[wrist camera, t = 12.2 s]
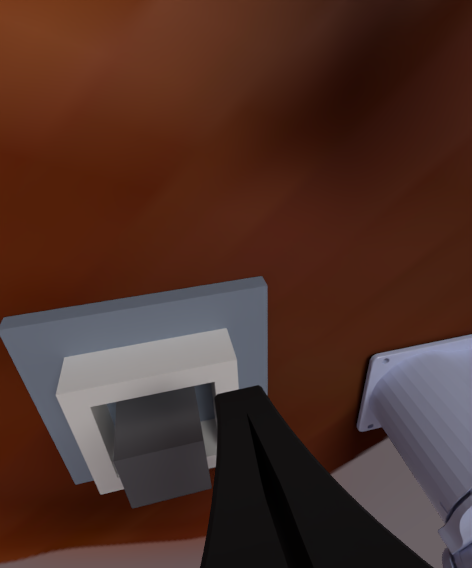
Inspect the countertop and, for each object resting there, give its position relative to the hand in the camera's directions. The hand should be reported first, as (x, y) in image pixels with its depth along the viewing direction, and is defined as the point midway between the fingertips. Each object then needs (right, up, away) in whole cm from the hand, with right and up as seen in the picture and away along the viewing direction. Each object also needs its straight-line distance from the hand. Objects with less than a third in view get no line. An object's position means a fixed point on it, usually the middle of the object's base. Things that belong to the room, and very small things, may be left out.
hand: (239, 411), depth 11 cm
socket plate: (-5, -2, +12) cm, 13 cm away
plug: (-5, -3, +11) cm, 12 cm away
